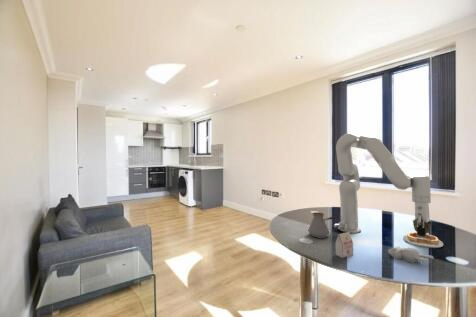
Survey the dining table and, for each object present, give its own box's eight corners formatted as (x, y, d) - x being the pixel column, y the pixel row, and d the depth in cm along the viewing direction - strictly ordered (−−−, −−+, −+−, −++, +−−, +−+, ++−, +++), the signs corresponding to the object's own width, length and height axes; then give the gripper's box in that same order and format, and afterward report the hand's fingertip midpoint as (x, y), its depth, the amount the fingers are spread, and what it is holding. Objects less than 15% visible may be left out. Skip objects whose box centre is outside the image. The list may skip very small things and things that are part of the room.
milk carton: (335, 254, 102) (335, 233, 102) (346, 252, 105) (346, 231, 105) (342, 257, 99) (341, 235, 99) (353, 255, 102) (352, 233, 102)
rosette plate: (425, 249, 106) (425, 243, 106) (395, 238, 122) (395, 232, 122) (452, 246, 109) (451, 240, 109) (419, 235, 125) (419, 230, 125)
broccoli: (427, 239, 111) (426, 223, 111) (410, 235, 117) (409, 220, 117) (434, 236, 114) (434, 221, 114) (417, 232, 121) (417, 218, 121)
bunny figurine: (395, 243, 105) (434, 250, 92) (396, 254, 104) (436, 263, 91) (383, 247, 100) (423, 255, 87) (385, 259, 100) (425, 269, 86)
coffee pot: (303, 234, 130) (303, 209, 130) (318, 231, 136) (317, 207, 136) (334, 247, 111) (333, 217, 111) (349, 242, 116) (349, 214, 117)
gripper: (428, 202, 107) (429, 239, 107) (432, 197, 119) (433, 231, 119) (409, 200, 113) (409, 235, 112) (415, 196, 125) (415, 228, 124)
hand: (422, 233), depth 116 cm, fingers closed on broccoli, 6 cm apart
